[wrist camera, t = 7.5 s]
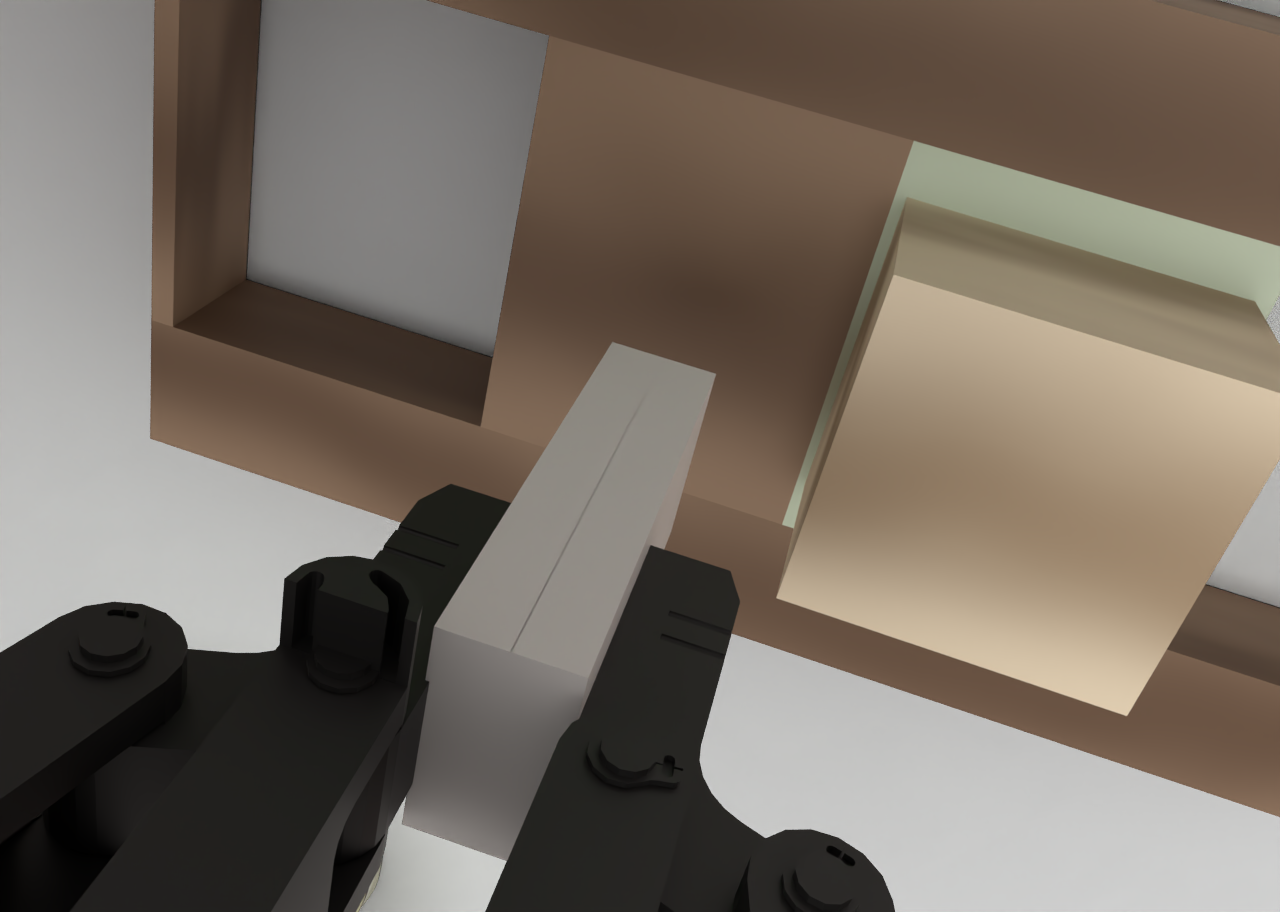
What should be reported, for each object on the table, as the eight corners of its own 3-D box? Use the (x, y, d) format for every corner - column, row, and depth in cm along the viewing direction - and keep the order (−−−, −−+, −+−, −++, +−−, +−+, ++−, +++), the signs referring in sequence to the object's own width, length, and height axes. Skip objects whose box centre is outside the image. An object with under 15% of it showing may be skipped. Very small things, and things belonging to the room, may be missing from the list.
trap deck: (250, -261, 23) (157, -269, 20) (1805, 159, 20) (1929, 211, 17) (221, 383, 30) (150, 438, 27) (1362, 758, 27) (1403, 858, 24)
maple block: (907, 196, 21) (893, 274, 17) (1254, 301, 20) (1312, 403, 17) (805, 483, 24) (776, 597, 20) (1104, 581, 23) (1126, 716, 20)
